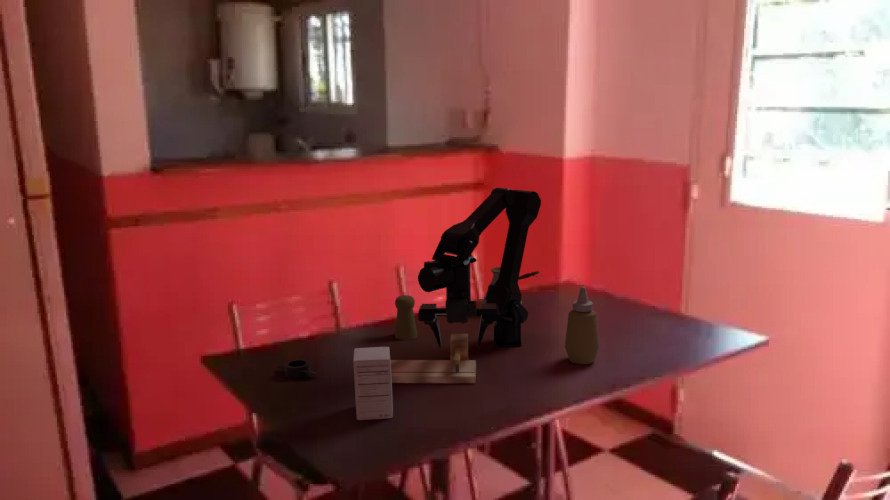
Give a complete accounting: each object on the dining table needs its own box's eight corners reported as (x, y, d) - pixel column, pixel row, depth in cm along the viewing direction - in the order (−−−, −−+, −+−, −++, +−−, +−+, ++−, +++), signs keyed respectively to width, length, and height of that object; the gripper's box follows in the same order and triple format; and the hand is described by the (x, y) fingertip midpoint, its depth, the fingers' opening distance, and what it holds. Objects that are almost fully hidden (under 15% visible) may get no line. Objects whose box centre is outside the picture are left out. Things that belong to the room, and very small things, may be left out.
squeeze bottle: (602, 357, 173) (604, 284, 170) (594, 368, 166) (596, 293, 163) (569, 353, 177) (570, 281, 173) (560, 364, 170) (561, 290, 166)
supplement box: (356, 405, 150) (353, 347, 147) (392, 403, 150) (390, 345, 147) (355, 421, 142) (352, 360, 140) (393, 418, 143) (390, 358, 140)
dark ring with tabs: (286, 385, 161) (285, 373, 160) (276, 371, 170) (275, 359, 169) (320, 379, 164) (319, 367, 164) (308, 365, 173) (308, 354, 173)
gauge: (468, 357, 176) (467, 333, 174) (466, 381, 161) (465, 355, 160) (451, 357, 176) (451, 333, 175) (448, 381, 161) (447, 355, 160)
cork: (418, 332, 195) (417, 293, 192) (415, 340, 189) (414, 299, 186) (396, 332, 195) (395, 293, 193) (392, 339, 189) (391, 299, 187)
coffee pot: (474, 311, 213) (473, 261, 210) (504, 304, 219) (503, 255, 216) (524, 328, 196) (524, 275, 193) (554, 320, 203) (554, 268, 200)
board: (475, 366, 169) (475, 359, 169) (475, 383, 160) (475, 376, 159) (382, 366, 171) (382, 359, 170) (376, 382, 161) (375, 375, 161)
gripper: (414, 292, 162) (417, 359, 165) (498, 292, 160) (499, 359, 164) (419, 280, 172) (421, 342, 176) (498, 279, 171) (498, 342, 174)
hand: (459, 346), depth 172 cm, fingers open, 9 cm apart
